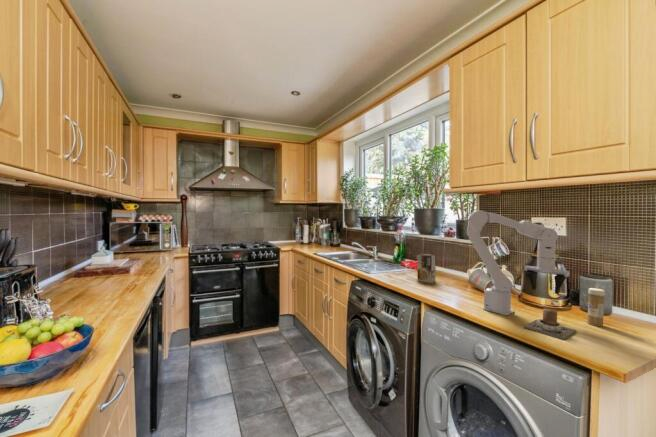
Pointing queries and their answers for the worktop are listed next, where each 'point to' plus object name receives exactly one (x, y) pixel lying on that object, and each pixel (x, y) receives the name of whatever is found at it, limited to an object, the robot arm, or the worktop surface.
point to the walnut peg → (550, 317)
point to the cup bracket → (550, 329)
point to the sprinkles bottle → (596, 306)
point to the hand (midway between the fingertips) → (545, 291)
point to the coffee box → (426, 268)
